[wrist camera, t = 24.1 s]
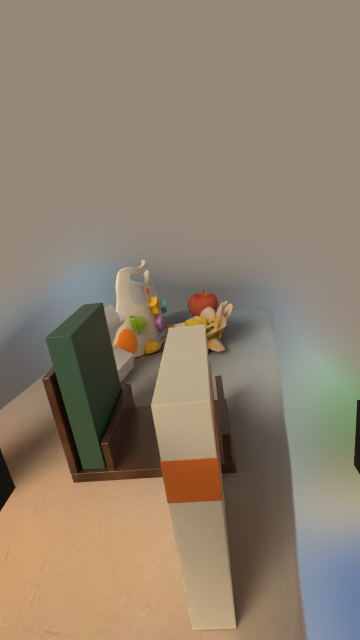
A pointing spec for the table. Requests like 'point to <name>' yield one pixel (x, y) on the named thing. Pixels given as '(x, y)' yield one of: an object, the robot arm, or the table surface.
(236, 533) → the table surface
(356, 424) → the robot arm
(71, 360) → the green book
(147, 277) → the shape sorter
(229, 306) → the decorative flower
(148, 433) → the book rack
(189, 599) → the book
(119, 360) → the white angular piece
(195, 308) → the apple
